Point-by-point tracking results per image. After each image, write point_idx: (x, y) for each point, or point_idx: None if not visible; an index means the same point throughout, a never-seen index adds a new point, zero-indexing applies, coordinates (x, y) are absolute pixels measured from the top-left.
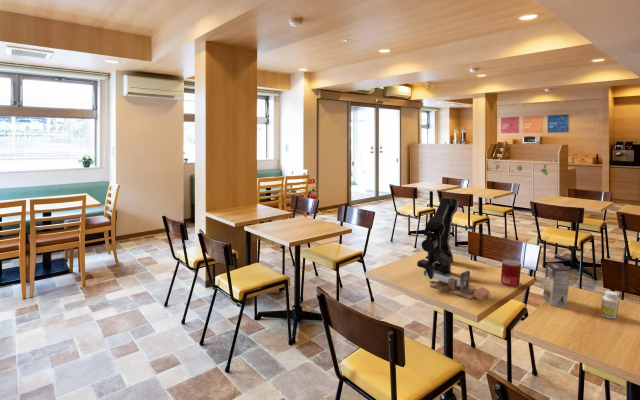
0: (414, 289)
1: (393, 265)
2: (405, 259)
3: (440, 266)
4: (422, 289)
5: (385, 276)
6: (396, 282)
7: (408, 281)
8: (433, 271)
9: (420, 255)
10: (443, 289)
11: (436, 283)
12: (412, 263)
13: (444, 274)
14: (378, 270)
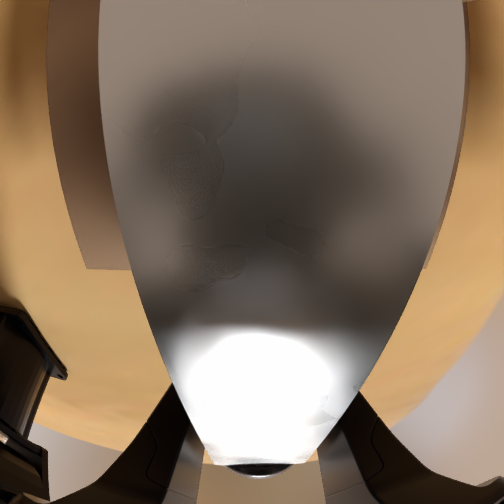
0: (496, 292)
1: (208, 461)
2: (115, 449)
3: (19, 390)
4: (487, 259)
5: None
6: (419, 393)
7: (374, 387)
8: (272, 442)
9: (43, 423)
10: (469, 66)
11: None
12: (113, 438)
13: (271, 267)
14: (309, 459)
